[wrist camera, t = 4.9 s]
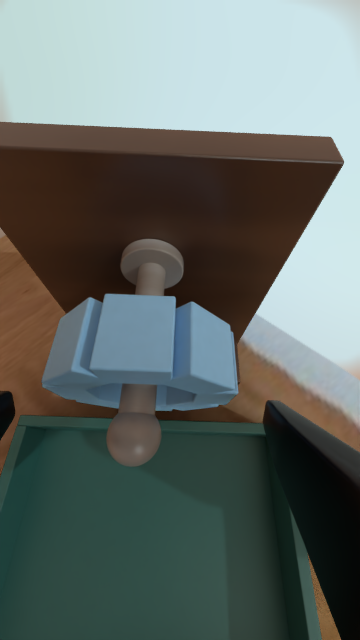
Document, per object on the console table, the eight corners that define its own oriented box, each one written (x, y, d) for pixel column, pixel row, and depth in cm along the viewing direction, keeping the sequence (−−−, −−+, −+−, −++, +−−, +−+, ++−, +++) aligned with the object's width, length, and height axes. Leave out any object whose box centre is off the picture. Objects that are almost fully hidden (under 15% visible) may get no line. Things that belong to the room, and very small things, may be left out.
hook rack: (242, 462, 16) (523, 498, 3) (64, 455, 16) (-380, 469, 3) (231, 323, 22) (324, 120, 8) (95, 318, 21) (-28, 104, 8)
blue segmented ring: (217, 413, 13) (259, 375, 7) (83, 408, 13) (-2, 366, 7) (215, 366, 14) (249, 298, 8) (92, 362, 14) (29, 289, 8)
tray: (311, 741, 11) (354, 830, 9) (-44, 733, 11) (-112, 821, 8) (269, 428, 18) (286, 424, 15) (43, 420, 17) (20, 414, 15)
